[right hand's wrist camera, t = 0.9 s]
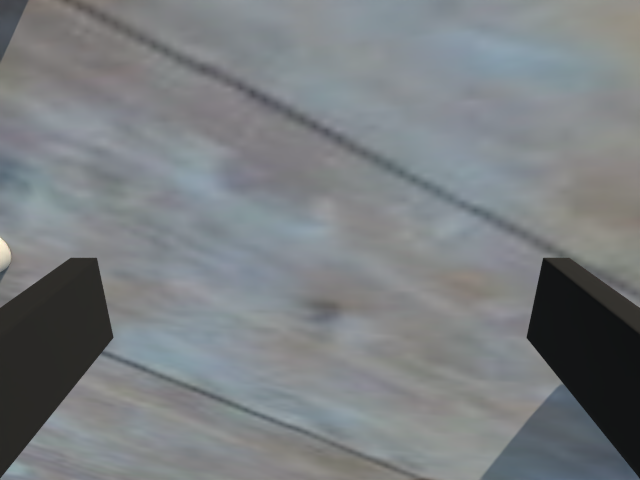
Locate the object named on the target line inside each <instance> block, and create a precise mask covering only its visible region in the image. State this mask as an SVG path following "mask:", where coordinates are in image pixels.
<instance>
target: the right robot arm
mask: <svg viewBox="0 0 640 480" xmlns="http://www.w3.org/2000/svg"><path fill="white" fill-rule="evenodd" d="M112 339H113V333H112V329H111V324H110V319H109V314H108V309H107V305H106V300H105V295H104V290H103V285H102V281H101V276H100V271H99V266H98V261H97V258H70V259H69V260H67V261H66V262H64V263H63V264H61V265H60V266H59V267H57V268H56V269H54V270H53V271H52V272H50V273H49V274H47V275H46V276H45V277H43V278H42V279H40V280H39V281H38V282H36V283H35V284H33V285H32V286H30V287H29V288H28V289H26V290H25V291H23V292H22V293H21V294H19V295H18V296H16V297H15V298H14V299H12V300H11V301H9V302H8V303H7V304H5V305H4V306H2V307H1V308H0V478H1V477H2V475H3V474H4V473H5V472H6V470H7V469H8V468H9V467H10V465H11V464H12V463H13V462H14V461H15V459H16V458H17V457H18V456H19V454H20V453H21V452H22V451H23V449H24V448H25V447H26V446H27V444H28V443H29V442H30V441H31V439H32V438H33V437H34V436H35V434H36V433H37V432H38V431H39V429H40V428H41V427H42V426H43V424H44V423H45V422H46V421H47V420H48V418H49V417H50V416H51V415H52V413H53V412H54V411H55V410H56V408H57V407H58V406H59V405H60V403H61V402H62V401H63V400H64V398H65V397H66V396H67V395H68V393H69V392H70V391H71V390H72V388H73V387H74V386H75V385H76V383H77V382H78V381H79V380H80V379H81V377H82V376H83V375H84V374H85V372H86V371H87V370H88V369H89V367H90V366H91V365H92V364H93V362H94V361H95V360H96V359H97V357H98V356H99V355H100V354H101V352H102V351H103V350H104V349H105V347H106V346H107V345H108V344H109V342H110V341H111V340H112ZM527 339H528V340H529V341H530V342H531V344H532V345H533V346H534V347H535V349H536V350H537V351H538V352H539V354H540V355H541V356H542V357H543V359H544V360H545V361H546V362H547V364H548V365H549V366H550V367H551V369H552V370H553V371H554V372H555V374H556V375H557V376H558V377H559V379H560V380H561V381H562V382H563V383H564V385H565V386H566V387H567V388H568V390H569V391H570V392H571V393H572V395H573V396H574V397H575V398H576V400H577V401H578V402H579V403H580V405H581V406H582V407H583V408H584V410H585V411H586V412H587V413H588V415H589V416H590V417H591V418H592V420H593V421H594V422H595V423H596V424H597V426H598V427H599V428H600V429H601V431H602V432H603V433H604V434H605V436H606V437H607V438H608V439H609V441H610V442H611V443H612V444H613V446H614V447H615V448H616V449H617V451H618V452H619V453H620V454H621V456H622V457H623V458H624V459H625V461H626V462H627V463H628V464H629V465H630V467H631V468H632V469H633V470H634V472H635V473H636V474H637V475H638V477H639V478H640V308H639V307H638V306H636V305H635V304H633V303H632V302H631V301H629V300H628V299H626V298H625V297H624V296H622V295H621V294H619V293H618V292H617V291H615V290H614V289H612V288H611V287H610V286H608V285H607V284H605V283H604V282H602V281H601V280H600V279H598V278H597V277H595V276H594V275H593V274H591V273H590V272H588V271H587V270H586V269H584V268H583V267H581V266H580V265H579V264H577V263H576V262H574V261H573V260H571V259H570V258H543V261H542V266H541V271H540V276H539V281H538V285H537V290H536V295H535V300H534V305H533V309H532V314H531V319H530V324H529V329H528V333H527Z"/></svg>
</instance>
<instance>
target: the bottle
mask: <svg viewBox="0 0 640 480" xmlns="http://www.w3.org/2000/svg"><path fill="white" fill-rule="evenodd" d="M10 262H11V252H10V249H9V247H8V246H7V244H6V243H5V242H4V241H3V240H2V239H1V238H0V272H2V271H4V270H5V269H6V268H7V267H8V266H9V264H10Z"/></svg>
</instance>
